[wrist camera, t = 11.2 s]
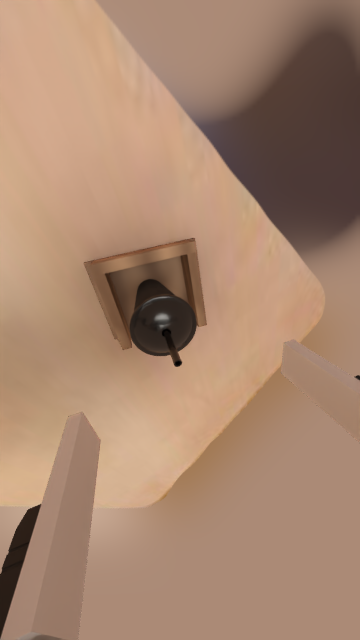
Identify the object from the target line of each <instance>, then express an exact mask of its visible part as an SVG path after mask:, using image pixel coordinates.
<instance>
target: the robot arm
mask: <svg viewBox="0 0 360 640" xmlns="http://www.w3.org/2000/svg"><path fill="white" fill-rule="evenodd" d="M281 374H282V375H284V376H285V377H286V378H287V379H288V380H289V381H291V383H293V384H294V385H295V386H296V387H297V388H298V389H299V390H300V391H302V392H303V393H304V394H305V395H306V396H307V397H309V398H310V399H311V400H312V401H313V402H314V403H315V404H317V406H318V407H320V408H321V409H322V410H323V411H324V412H325V413H326V414H328V415H329V416H330V417H331V418H332V419H333V420H334V421H335V422H337V423H338V424H339V425H340V426H341V427H342V428H343V429H345V430H346V431H347V432H348V433H349V434H350V435H351V436H352V437H353V438H355V439H356V440H357V441H358V442H359V443H360V376H359V375H358V376H356V377H353V376H352V375H350V374H348V373H347V372H345V371H343V370H342V369H340V368H339V367H337V366H335V365H334V364H332V363H331V362H329V361H327V360H326V359H324V358H322V357H321V356H319V355H318V354H316V353H314V352H313V351H311V350H310V349H308V348H306V347H305V346H303V345H302V344H300V343H298V342H297V341H295V340H294V339H293V340H290V341H287V342H284V345H283V356H282V368H281ZM100 441H101V440H100V439H99V437H98V436H97V434H96V432H95V431H94V429H93V428H92V426H91V425H90V423H89V421H88V420H87V418H86V417H85V415H84V414H83V412H80V413H77V414H74V415H71V416H68V419H67V422H66V425H65V429H64V432H63V435H62V438H61V442H60V445H59V448H58V451H57V455H56V458H55V461H54V465H53V468H52V471H51V474H50V478H49V481H48V484H47V488H46V491H45V494H44V497H43V501H42V504H40V505H38V506H35V507H33V508H30V509H28V510H27V512H26V514H25V515H24V517H23V519H22V520H21V522H20V524H19V525H18V527H17V529H16V531H15V534H14V537H13V539H12V542H11V545H10V548H9V553H8V555H7V556H6V559H5V561H4V564H3V567H2V573H1V574H0V640H78V635H79V627H80V618H81V609H82V601H83V592H84V582H85V574H86V565H87V556H88V547H89V538H90V528H91V521H92V512H93V503H94V494H95V485H96V476H97V468H98V459H99V450H100Z"/></svg>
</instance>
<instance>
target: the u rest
mask: <svg viewBox="0 0 360 640" xmlns="http://www.w3.org/2000/svg"><path fill="white" fill-rule="evenodd" d="M84 265H85V267H86V270H87V272H88V275H89V277H90V280H91V282H92V285H93V287H94V289H95V292H96V294H97V297H98V299H99V302H100V304H101V307H102V309H103V311H104V314H105V316H106V319H107V321H108V324H109V326H110V328H111V331H112V333H113V336H114V338H115V339H119V342H120V344H121V347H122V349H123V350H125V349H128V348H132V343H131V336H130V331H129V324H130V319H131V316H132V314H133V312H134V307H135V301H136V294H137V289H138V286H139V285H140V284H141V283H142V282H143V281H145V280H147V279H154V280H157V281H159V282H160V283H161V284H163V285H164V286H165V287H166V288H167V289H168V290H170V291H171V292H172V293H173V294H174V295H176V296H178V297H180V298H182V299H184V300H185V301H186V302H188V303H189V305H190V306H191V307H192V308H193V310H194V312H195V315H196V319H197V325H198V327H201V326H204V325H207V323H206V316H205V308H204V301H203V294H202V286H201V279H200V271H199V264H198V257H197V249H196V242H195V238H192V239H187V240H183V241H178V242H174V243H169V244H165V245H160V246H156V247H151V248H147V249H142V250H138V251H133V252H129V253H124V254H120V255H116V256H111V257H107V258H102V259H98V260H93V261H89V262H85V263H84Z"/></svg>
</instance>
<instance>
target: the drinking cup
mask: <svg viewBox="0 0 360 640" xmlns="http://www.w3.org/2000/svg"><path fill="white" fill-rule="evenodd" d="M196 326H197V319H196V315H195V312H194V310H193V308H192V307H191V306H190V305H189V303H188V302H186V301H185V300H184V299H182V298H180V297H178V296H176V295H174V294H173V293H172V292H171V291H170V290H168V289H167V288H166V287H165V286H164V285H163V284H161V283H160V282H159V281H157V280H154V279H147V280H145V281H143V282H142V283H141V284H140V285H139V286H138V289H137V294H136V301H135V307H134V312H133V314H132V316H131V319H130V324H129V331H130V336H131V339H132V341H133V343H134V344H135V345H136V346H137V347H138V348H139V349H140V350H141V351H143V352H145V353H147V354H150V355H154V356H167V355H171V357H172V360H173V363H174V365H175V366H176V367H178V366H180V365H181V364H182V361H181V359H180V356H179V354H178V351H180V350H182V349H183V348H184V347H185V346H187V345H188V344H189V342H190V341H191V340H192V338H193V336H194V334H195V331H196Z"/></svg>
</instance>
